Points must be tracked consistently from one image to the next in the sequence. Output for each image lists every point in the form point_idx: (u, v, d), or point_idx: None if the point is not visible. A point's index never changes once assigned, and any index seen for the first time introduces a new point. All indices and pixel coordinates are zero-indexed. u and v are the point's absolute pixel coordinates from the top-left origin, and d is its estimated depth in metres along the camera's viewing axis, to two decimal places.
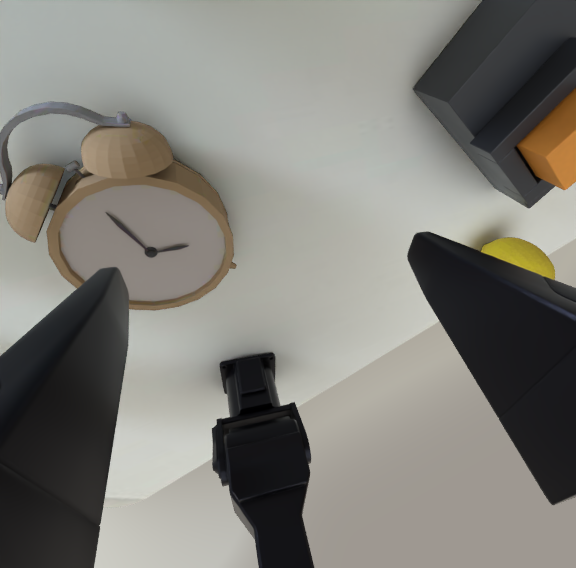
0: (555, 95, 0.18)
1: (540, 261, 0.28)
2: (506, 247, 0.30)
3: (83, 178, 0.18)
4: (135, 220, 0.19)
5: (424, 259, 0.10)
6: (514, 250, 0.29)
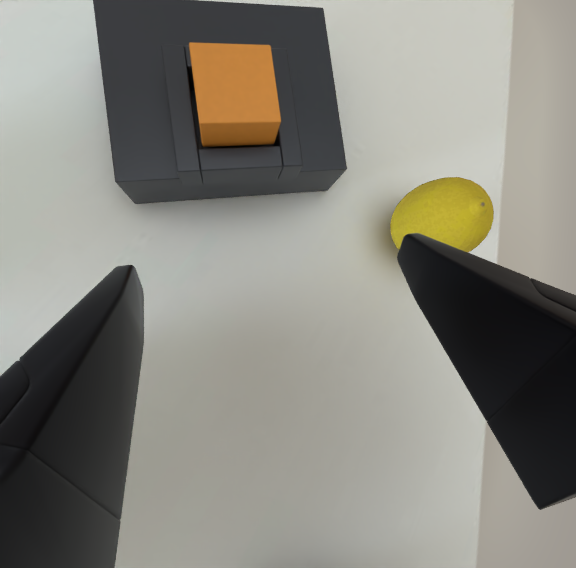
0: (175, 95, 0.16)
1: (431, 188, 0.19)
2: (396, 214, 0.22)
3: None
4: None
5: (413, 260, 0.10)
6: (402, 207, 0.21)
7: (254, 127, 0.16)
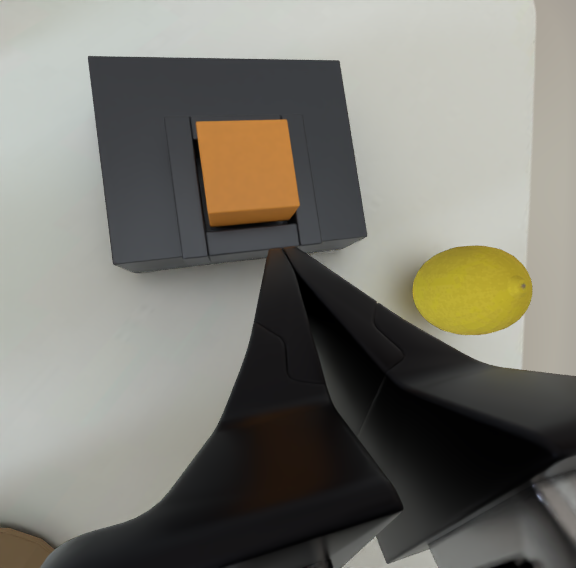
0: (180, 172, 0.15)
1: (462, 260, 0.17)
2: (420, 281, 0.20)
3: None
4: None
5: None
6: (427, 276, 0.19)
7: (269, 211, 0.14)
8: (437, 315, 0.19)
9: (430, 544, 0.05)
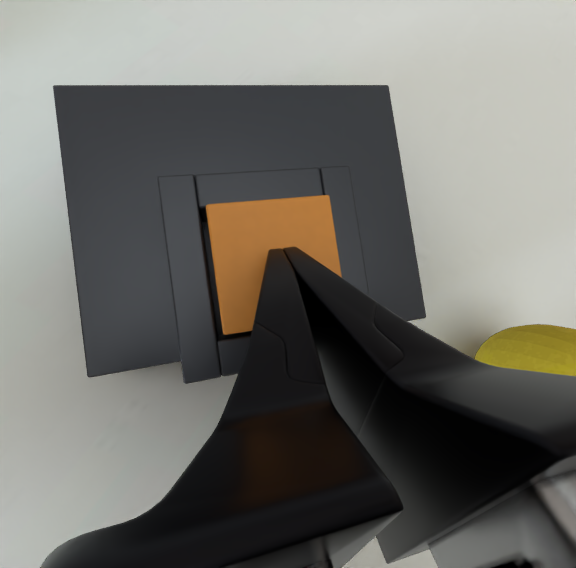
0: (181, 257, 0.10)
1: (559, 357, 0.13)
2: None
3: None
4: None
5: None
6: None
7: None
8: None
9: (430, 544, 0.05)
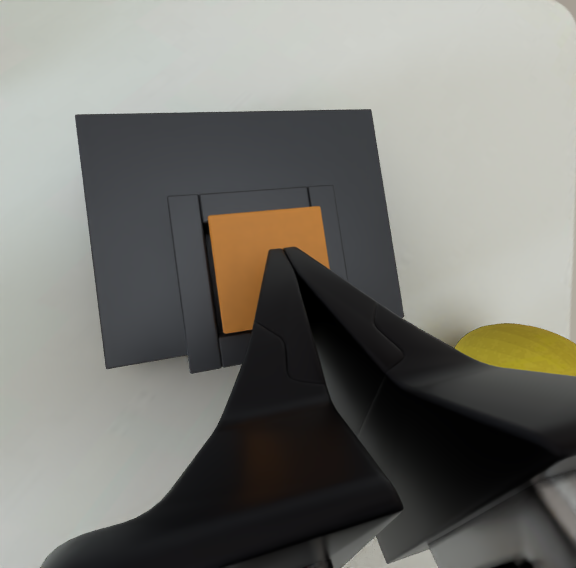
0: (187, 265, 0.12)
1: (519, 352, 0.15)
2: None
3: None
4: None
5: None
6: None
7: None
8: None
9: (430, 544, 0.05)
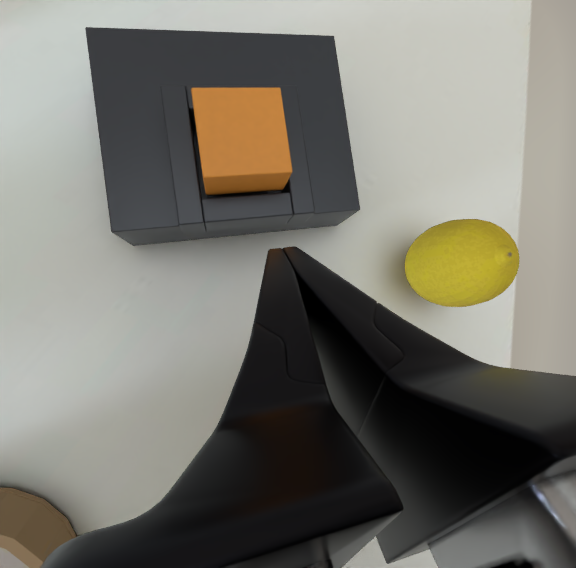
0: (176, 140, 0.15)
1: (452, 232, 0.18)
2: (411, 254, 0.20)
3: None
4: None
5: None
6: (419, 249, 0.20)
7: (263, 178, 0.14)
8: (427, 287, 0.19)
9: (430, 544, 0.05)
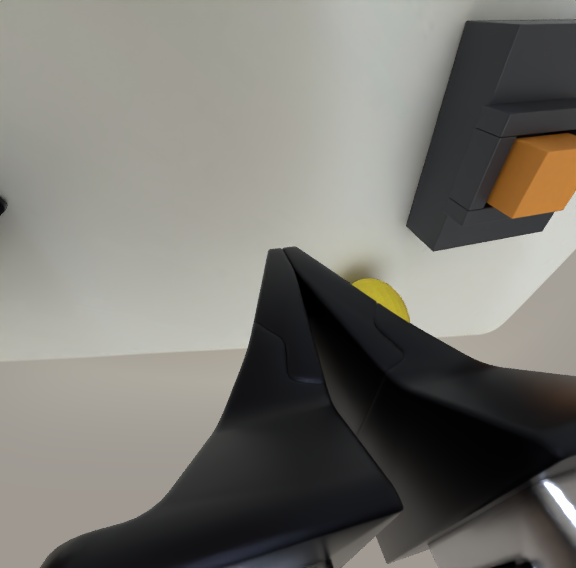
0: (566, 117, 0.18)
1: (407, 313, 0.26)
2: (385, 285, 0.27)
3: None
4: None
5: None
6: (391, 291, 0.27)
7: (516, 195, 0.18)
8: None
9: (430, 544, 0.05)
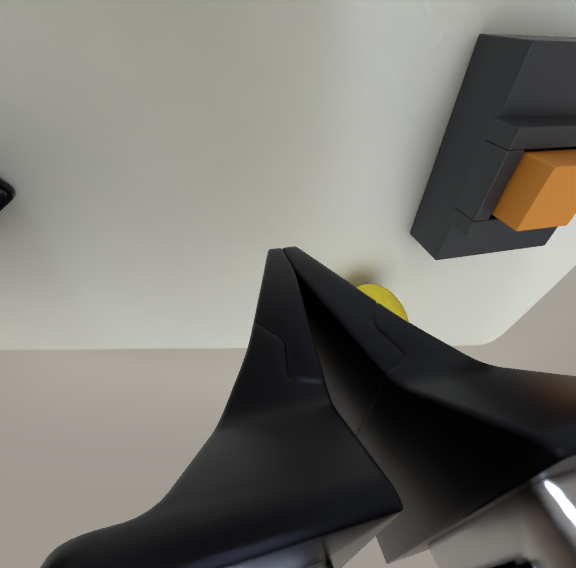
0: (574, 133, 0.18)
1: (407, 320, 0.26)
2: (386, 291, 0.27)
3: None
4: None
5: None
6: (392, 297, 0.27)
7: (521, 208, 0.19)
8: None
9: (430, 544, 0.05)
